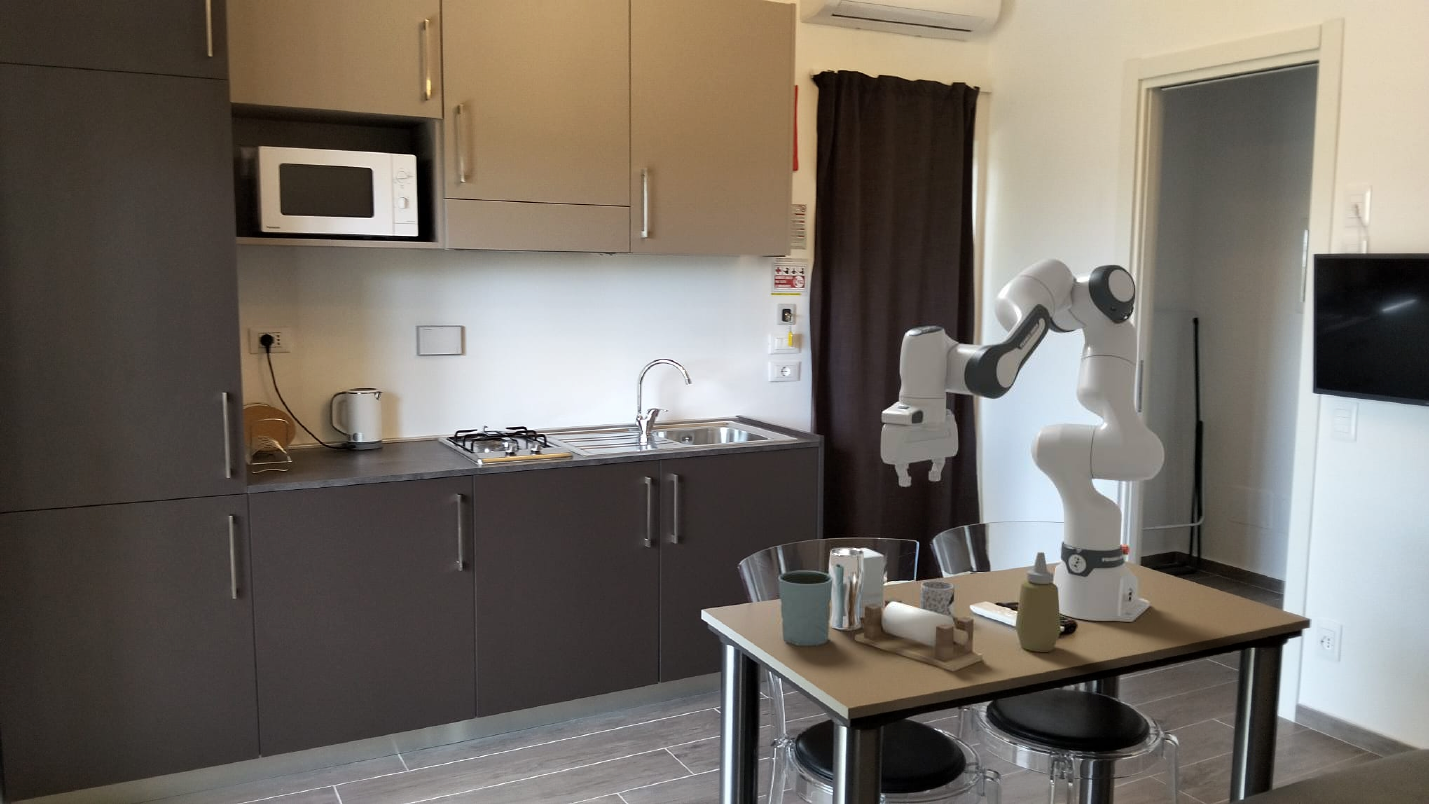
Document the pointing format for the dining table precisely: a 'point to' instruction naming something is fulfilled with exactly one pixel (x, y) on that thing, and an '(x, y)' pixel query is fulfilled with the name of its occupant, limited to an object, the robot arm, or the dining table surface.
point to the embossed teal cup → (805, 606)
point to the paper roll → (917, 624)
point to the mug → (937, 597)
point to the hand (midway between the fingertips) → (919, 483)
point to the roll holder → (940, 655)
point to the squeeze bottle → (1038, 609)
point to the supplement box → (872, 580)
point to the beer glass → (846, 587)
